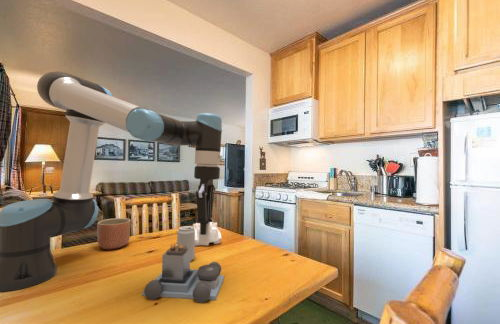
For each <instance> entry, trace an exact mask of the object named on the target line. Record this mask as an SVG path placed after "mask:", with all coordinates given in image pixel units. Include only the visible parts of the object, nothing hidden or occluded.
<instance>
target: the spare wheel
mask: <svg viewBox="0 0 500 324" xmlns="http://www.w3.org/2000/svg"><path fill="white" fill-rule="evenodd" d="M197 270H198V278H199V279H202V280H213V279H216V278H217V277H218V276H219V275H220V274H219V267H218V266H216V265H209V264H204V265H201V266H200V267H199V268H198V269H197Z"/></svg>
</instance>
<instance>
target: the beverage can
mask: <svg viewBox="0 0 500 324" xmlns="http://www.w3.org/2000/svg"><path fill="white" fill-rule="evenodd" d="M194 228H195V227H193V225H183V226H179V227H178V230H177V231H176V232H177V234H176V235H177V237H176V246H179V245H184V246H186V247H187V248H190V262H193V260H194V259H195V258H196V257H195V255H196V254H195V253H196V252H195V249H196V248H195V230H194Z"/></svg>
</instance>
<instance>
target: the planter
mask: <svg viewBox="0 0 500 324" xmlns="http://www.w3.org/2000/svg"><path fill="white" fill-rule="evenodd" d="M131 222H132V220H131V219H130V218H125V217H118V218H117V217H115V218H108V219H107V218H106V219H103V220H99V221H98V222H97V225H96V226H97V227H96V229H97V230H96V231H97V233H96V234H97V238H96V240H97V244H98V246H99V247H100V248H102V249H103V250H106V251H107V250H118V249H120V248H123V247H124V246H126V245H127V244H128V242H129V241H130V237H131V226H132V225H131Z"/></svg>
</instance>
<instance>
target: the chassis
mask: <svg viewBox="0 0 500 324" xmlns="http://www.w3.org/2000/svg"><path fill="white" fill-rule="evenodd" d="M208 265H216V266H218V267H219V276H218V277H217V278H216V279H213V280H202V279H199V278H198V269H194V268H193V269H191V268H190V278H189V279H188V280H187V282H186V283H185V284H180V283H162V272H161V273H160V274H159V275H158V276H157V277H156V278H155V279H152V280H151V281H149V282H148V283H147V284H146V285H145V287H144V289H143V291H142V293H141V294H142V296H144V297H145V298H146V299H148V300H151V301H154V300H157V299H158V298H173V299H174V298H175V299H188V300H189V299H190V300H191V299H192V300H195V302H197V303H201V304H202V303H205V302H207V301H216V300H217V299H218V295H219V293H220V290H221V288H222V285H223V283H224V280H225V275H222V274H221V272H222V266H221V265H220V263H219V262H216V261H212V262H210V263H209V264H208Z"/></svg>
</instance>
